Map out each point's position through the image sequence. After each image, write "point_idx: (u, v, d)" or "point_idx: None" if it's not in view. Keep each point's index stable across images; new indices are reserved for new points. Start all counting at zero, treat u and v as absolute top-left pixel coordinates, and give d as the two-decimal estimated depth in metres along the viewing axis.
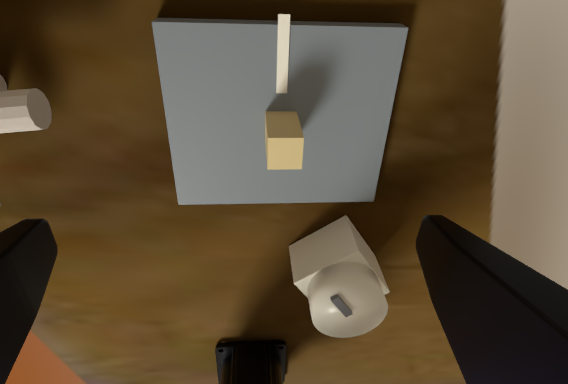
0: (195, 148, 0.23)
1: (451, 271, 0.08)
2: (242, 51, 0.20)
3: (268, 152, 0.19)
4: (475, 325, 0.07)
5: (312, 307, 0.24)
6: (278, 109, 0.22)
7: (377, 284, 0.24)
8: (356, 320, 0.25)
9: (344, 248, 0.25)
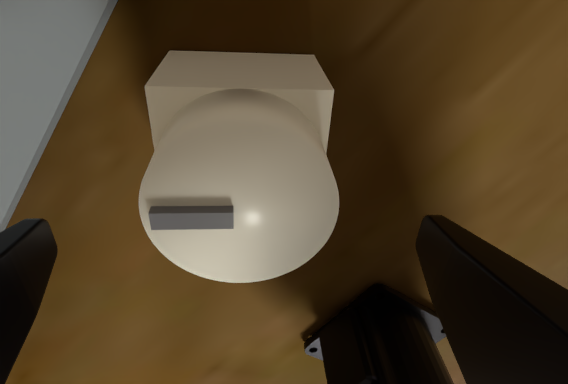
0: None
1: (451, 271, 0.08)
2: None
3: None
4: (475, 325, 0.07)
5: None
6: None
7: (222, 108, 0.09)
8: (275, 212, 0.10)
9: None
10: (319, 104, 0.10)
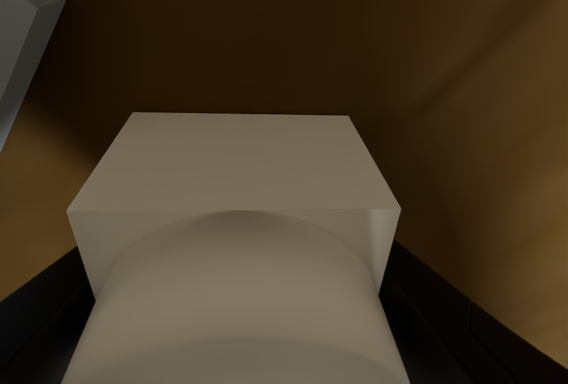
0: None
1: None
2: None
3: None
4: None
5: None
6: None
7: (203, 281, 0.05)
8: None
9: None
10: (373, 229, 0.06)
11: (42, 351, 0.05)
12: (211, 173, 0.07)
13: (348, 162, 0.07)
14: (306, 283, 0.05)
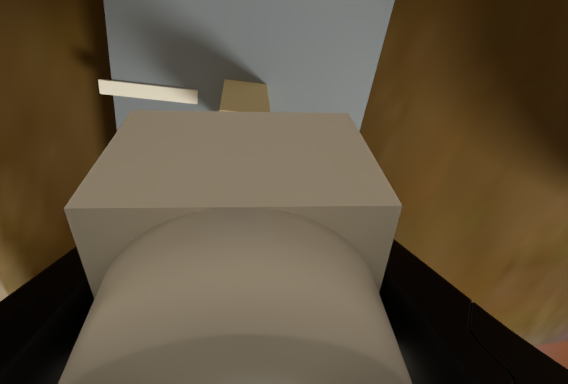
0: None
1: None
2: None
3: None
4: None
5: None
6: (220, 102, 0.17)
7: (202, 278, 0.04)
8: None
9: None
10: (374, 226, 0.06)
11: (42, 351, 0.05)
12: (210, 170, 0.06)
13: (349, 159, 0.07)
14: (306, 281, 0.05)
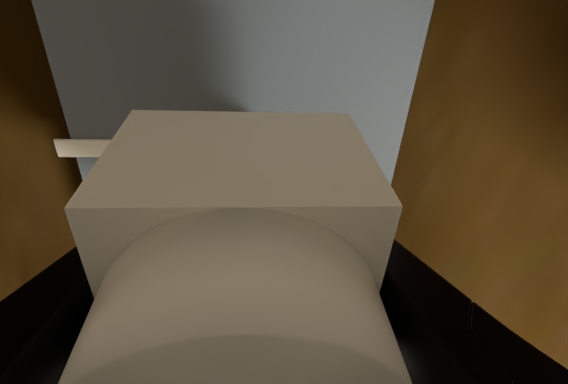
0: None
1: None
2: None
3: None
4: None
5: None
6: None
7: (202, 278, 0.04)
8: None
9: None
10: (375, 226, 0.06)
11: (42, 351, 0.05)
12: (211, 170, 0.06)
13: (349, 160, 0.07)
14: (307, 281, 0.05)
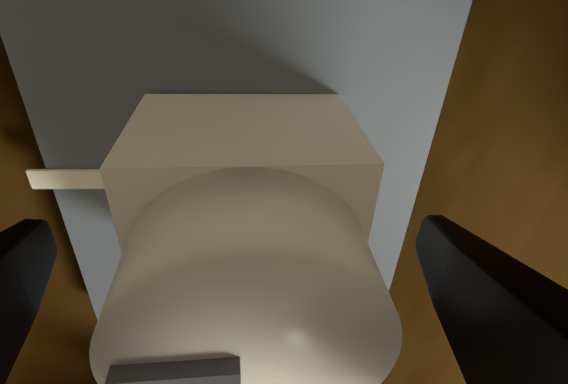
0: None
1: (451, 271, 0.08)
2: (112, 234, 0.12)
3: None
4: (475, 325, 0.07)
5: None
6: None
7: (220, 216, 0.06)
8: (304, 360, 0.06)
9: None
10: (361, 182, 0.07)
11: None
12: (220, 140, 0.08)
13: (339, 130, 0.08)
14: (305, 218, 0.06)
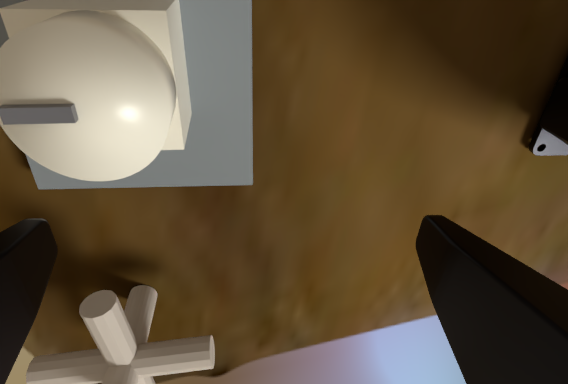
0: (172, 162, 0.19)
1: (451, 271, 0.08)
2: None
3: None
4: (475, 325, 0.07)
5: None
6: None
7: (54, 18, 0.11)
8: (113, 110, 0.12)
9: None
10: (156, 24, 0.12)
11: None
12: (78, 4, 0.13)
13: (157, 4, 0.13)
14: (102, 23, 0.11)
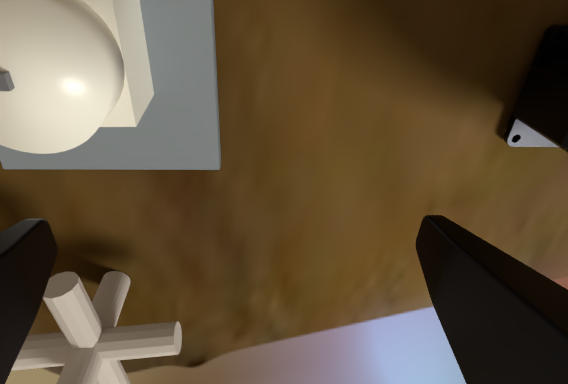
0: (137, 144, 0.19)
1: (451, 271, 0.08)
2: None
3: None
4: (475, 325, 0.07)
5: None
6: None
7: None
8: (49, 79, 0.12)
9: None
10: None
11: None
12: None
13: None
14: None
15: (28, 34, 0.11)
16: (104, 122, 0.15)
